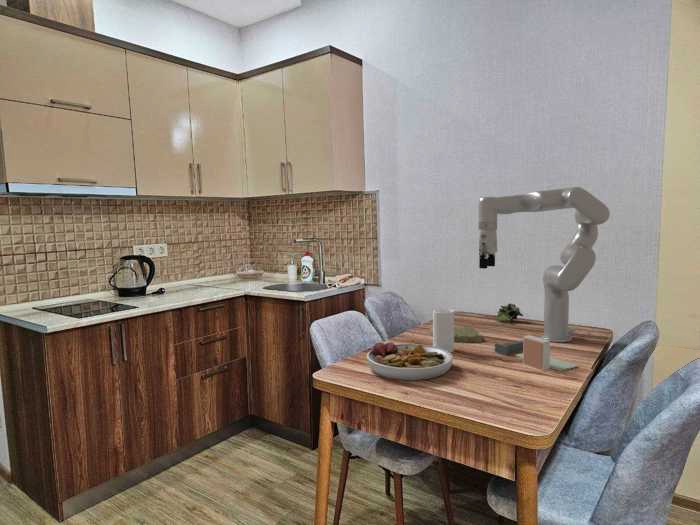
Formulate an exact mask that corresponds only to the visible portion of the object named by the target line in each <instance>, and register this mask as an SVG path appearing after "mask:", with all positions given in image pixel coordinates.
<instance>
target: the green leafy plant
mask: <svg viewBox="0 0 700 525" xmlns="http://www.w3.org/2000/svg"><path fill="white" fill-rule="evenodd" d="M520 309H521V308H519V307H517V306H516V304H513V303H507V305H500V308H499V309H498V312H497V314H496V316H495V317H494V320H495V321H497V320H498V321H499V320H500V319H502V318H503V317H504V319H505V321H508V323H509V324H510V322H511V321H514V320H516V321H517V319H518V316H520V317H524V314H522V313H521V310H520ZM508 323H507V324H508Z"/></svg>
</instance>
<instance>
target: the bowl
mask: <svg viewBox="0 0 700 525" xmlns="http://www.w3.org/2000/svg"><path fill="white" fill-rule="evenodd" d="M453 359H454V358H453V354H452V353H451V352H450V353H449V352H448V351H446V350H444V349H441V348H438V347H434V346H433V345H428V344H420V343H418V344H416V343H396V344H395V343H394V342H389V341H387V342H386V343H383V342H380V341H379V342H377V343H375V344H374V345H373V346H372V349H371V350H369V351H368V352H367V353H366V361H367V365H368V366H369V368H370V369H371V370H372V371H373V372H374V373H376V374H378V375H380V376H383V377H385V378H388V379H394V380H401V381H423V379H424V380H428V379H429V380H430V378H431V379H435V378H439V377H440V376H442V375H444V374H445V373H447V372H448V371H449V370H450V369H451V367H452V365H453Z"/></svg>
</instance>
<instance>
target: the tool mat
mask: <svg viewBox="0 0 700 525" xmlns="http://www.w3.org/2000/svg"><path fill="white" fill-rule="evenodd" d="M515 357H516V358H519V359H521V360H523V352H522V353H518V354H517V353H516V354H515ZM575 367H577V368H579V365H577V364H575V363H571V362H568V361H564V360H562V359H558V358H555V357H552V356H550V369H552V370H554V369H555V371H557V370H558V372H563V371H562V370H564V371H567V369H569V370H572V369H571V368H573V369H576V368H575Z"/></svg>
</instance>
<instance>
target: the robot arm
mask: <svg viewBox="0 0 700 525" xmlns="http://www.w3.org/2000/svg"><path fill="white" fill-rule="evenodd" d="M566 209H575V212H574V218H575V223H576V232H575V233H574V235H573V237H571V239H570V240H569V242H568V244H566V246H565V248H564V249H563V250H562V251H561V253H560V258H559V260H560V262H561V263H562V264H563V265H564V266H562V265H551V266H549V267H547V268H546V269H545V271H544V272H543V275H542V283H543V290H544V308H543V310H544V312H543V315H544V316H543V333H540V334H539V338H542V339H545V340H549V341H550V343H551V342H552V343H569V342H571V341H572V340H573V337H572V336H571V335H570V334H573V333H575V332H576V329H575V328H574V327H571V328H570V327H569V314H570V295H569V294H570V293H569V292H571V291H575V289H577V288H578V287H579V286H580V285H581V284H582V282H583V281H584V279H585V278H586V277H587V276H588V274H589V273H590V272H591V270H592V269H593V268H594V265H595V264H596V260H597V258H596V257H597V255H596V252H595V250H594V249H592V248H593V247H594V245H595V243H596V242H597V240H598V237H599V229H598V226H600V225H602V224H605V223H606V222H607V221H608V220H609V219H610V214H611V213H610V212H611V211H610V209H609V208H608V206H607V204H605V203H603V202H602V201H600V199H599V198H597V197H595V196H594V194H592V193H590V192H589V191H587V190H586V189H585V188H583V187H580V186H573V187H564V188H557V189H547V190H540V191H539V190H538V191H532V192H528V193H523V194H517V195H516V194H515V195H504V196H497V197H495V196H483V197H480V198H479V200H478V231H479V236H478V237H479V238H478V239H479V240H478V252H479V253H478V255H479V257H478V258H479V260H478V261H479V262H478V263H479V265H478V268H479V269H483V270H484V269H488V267H495V266H496V253H497V252H498V235H497V231H498V215H511V214H515V213H536V212H537V213H540V212H548V211H556V210H557V211H558V210H566Z"/></svg>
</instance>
